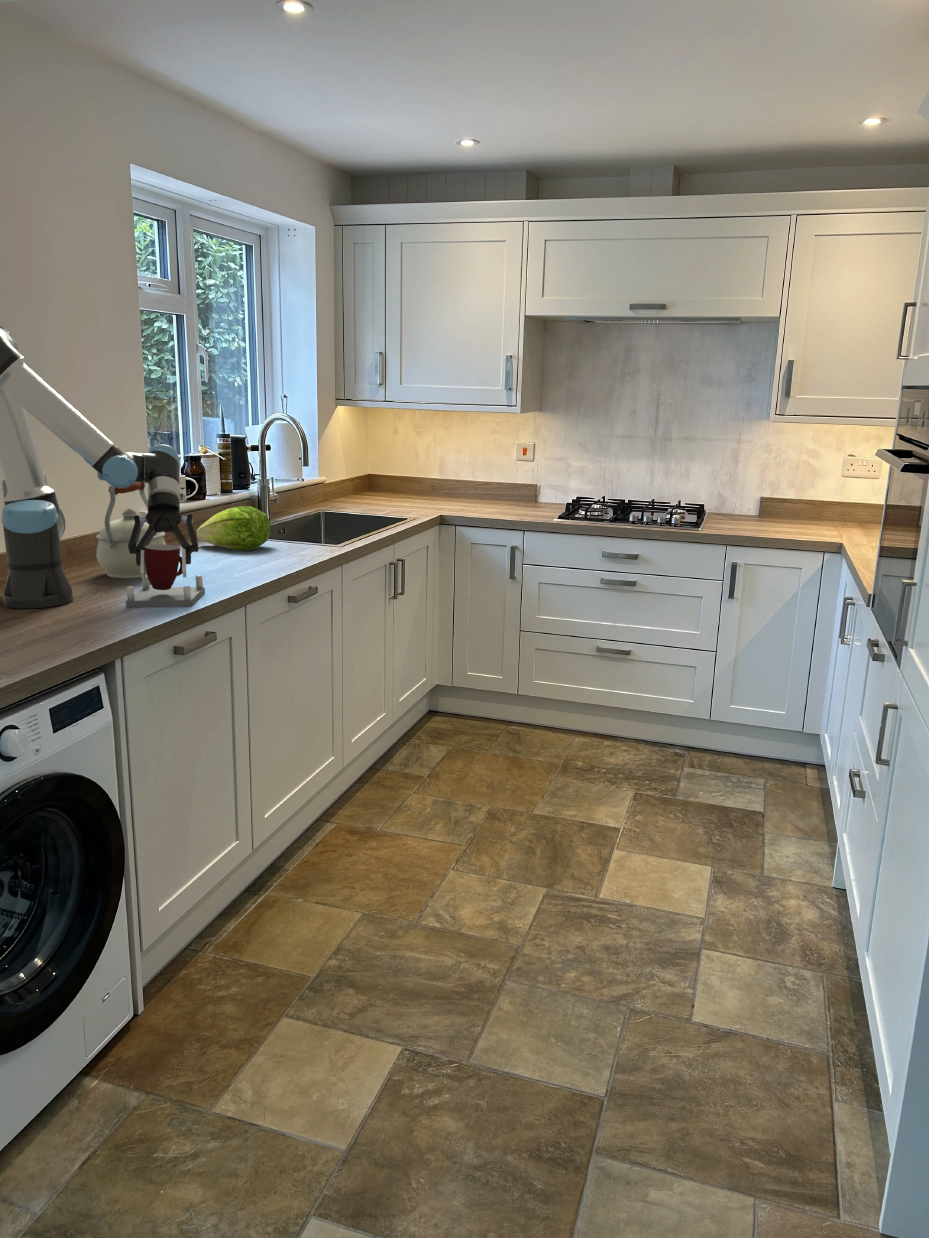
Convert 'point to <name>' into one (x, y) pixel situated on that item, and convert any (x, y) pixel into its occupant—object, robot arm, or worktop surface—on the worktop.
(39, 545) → the robot arm
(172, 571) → the mug
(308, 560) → the worktop surface
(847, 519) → the worktop surface
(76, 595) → the worktop surface
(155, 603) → the post board
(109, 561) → the kettle
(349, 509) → the worktop surface
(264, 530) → the lettuce
